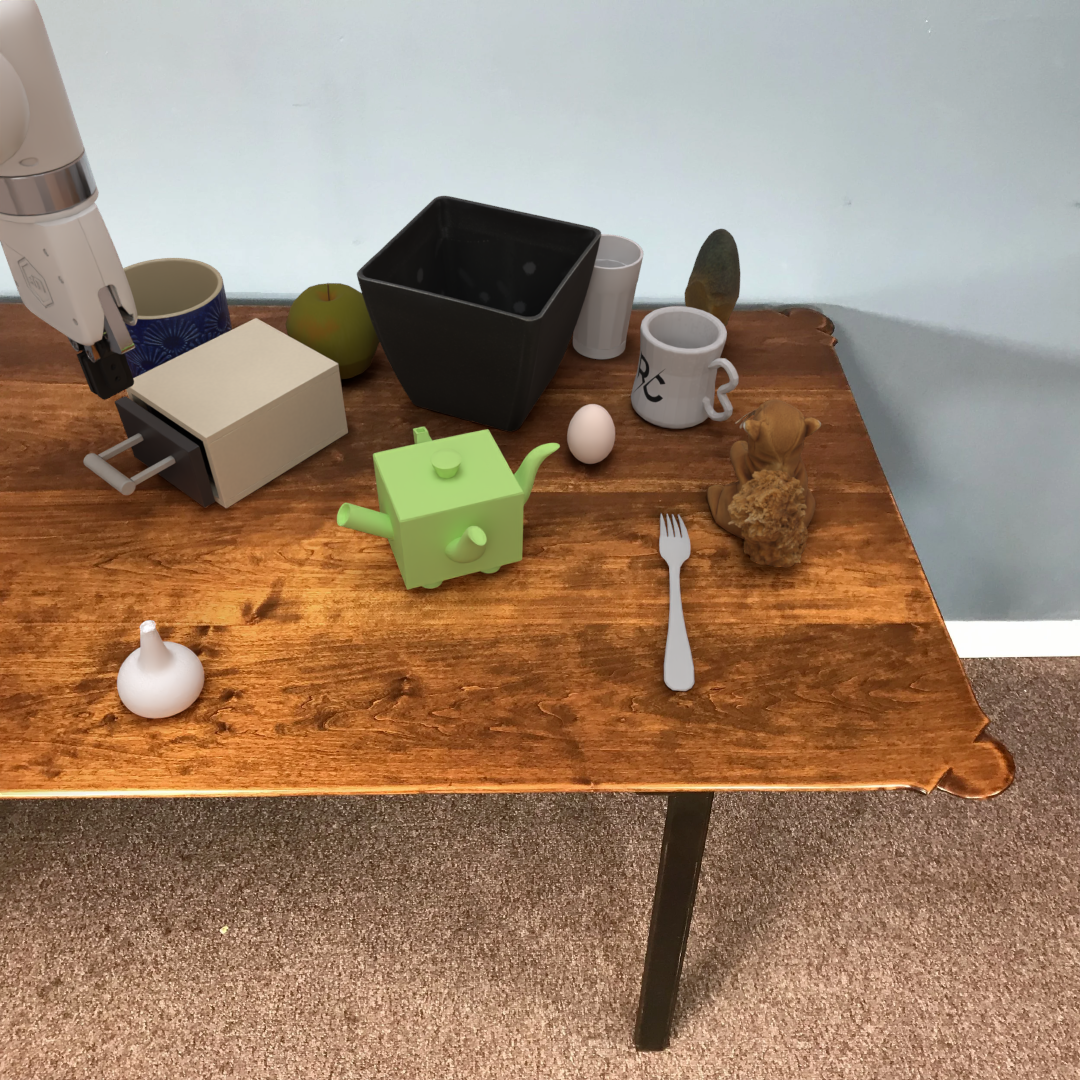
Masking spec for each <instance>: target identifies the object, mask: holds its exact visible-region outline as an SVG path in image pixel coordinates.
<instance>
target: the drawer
mask: <svg viewBox="0 0 1080 1080" xmlns="http://www.w3.org/2000/svg"><path fill="white" fill-rule="evenodd" d="M114 404H115V407H116V409H117V412H118V415H119V419H120V421H121V423H122V426H123V429H124V432H125V435H126V437H127V439H125V440H123V441H121V442H119V443H118V444H115V445H114V446H112V447H110V448H108V449H106V450H104V451H102V452H100V453H99V454H96V453H94V452H92V453H88V454H86V455H85V457H84V458H83V465H84V466H85V467H86V468H88V469H89V470H90V471H91V472H92V473H94V474H95V475H97V476H98V477H99V478H101V479H102V481H105V482H106V483H107V484H109V485H110V486H111V487H112V488H114V489H115V490H117V491H118V492H119V493H121V495H123V496H130V495H131V494H133V493H134V492H135V490H136V486H137V485H139V484H141V483H143V482H144V481H147V480H148V479H149V478H151V477H154V476H155V475H158V476H160V477H161V478H163V479H165V480H166V481H167V482H168V483H170V484H171V485H173V486H174V487H176V489H178V490H180V491H181V492H182V493H184V494H185V495H186V496H188V497H190V498H191V499H192V500H193V501H195V502H196V503H198V504H199V505H200V506H202V507H203V508H204V509H207V507H209V506H211V505H212V504H213V505H214V503H215V502H216V501H215V498H214V495H213V492H212V488H211V485H210V481H211V482H213V483H214V484H215V482H214V478H213V475H212V471H211V468H210V464H209V461H208V457H207V454H206V450H205V447H204V444H203V441H202V440H200V439H199V438H197V437H196V436H194V435H193V434H191V433H190V432H188V431H187V430H185V429H184V428H182V427H181V426H179V425H178V424H176V423H175V422H173V421H172V420H171V419H169V418H168V417H166V416H165V415H163V414H162V413H160V412H159V411H157V410H156V409H154V408H153V407H151V406H150V405H148V404H147V403H146V406H147V409H148V411H147V410H145V409H144V408H142V407H141V406H139V405H138V404H136V403H135V402H133V401H132V400H130V399H129V396H126V395H124V396H122V397H120V398H118V399H116V400H114ZM130 448H131V451H132V455H133V457H134V458H135V459H137V460H138V461H139V462H141V463H142V464H143V465H145V466H146V467H147V468H145V469H144V470H142V471H140V472H139V473H137V474H135V475H133V476H131V477H130V478H129V477H127V476H126V475H125V474H123V473H122V472H121V471H119V470H118V469H117V468H115V467H114V466H113V465H111V464H110V463H109V462H107V461H108V460H110V459H112V458H113V457H116V456H118V455H119V454H121V453H123V452H125V451H126V450H129V449H130ZM209 480H210V481H209Z"/></svg>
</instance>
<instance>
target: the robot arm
mask: <svg viewBox="0 0 1080 1080" xmlns="http://www.w3.org/2000/svg"><path fill="white" fill-rule="evenodd" d="M78 127H79V126H78V124H77V121H76V118H75V114H74V111H73V108H72V105H71V102H70V99H69V95H68V92H67V89H66V86H65V83H64V80H63V78H62V73H61V71H60V68H59V65H58V61H57V59H56V56H55V52H54V50H53V45H52V43H51V40H50V37H49V34H48V31H47V28H46V25H45V21H44V20H43V16H42V13H41V11H40V8H39V6H38V4H37V2H36V0H0V245H1V248H2V251H3V254H4V256H5V259H6V262H7V265H8V268H9V270H10V274H11V276H12V279H13V282H14V284H15V287H16V289H17V292H18V295H19V298H20V299H21V301H22V303H23V305H24V306H25V308H27V310H28V311H29V312H30V313H32V314H33V315H35V316H36V317H37V318H39V319H40V320H41V321H43V322H44V323H46V324H48V325H49V326H50V327H52V328H54V329H55V330H57V331H58V332H60V333H61V334H63V335H64V336H66V337H67V339H68V341H69V344H70V345H71V347H72V348H73V350H74V351H76V352H77V353H76V357H77V360H78V362H79V365H80V367H81V370H82V373H83V375H84V377H85V380H86V382H87V385H88V388H89V390H90V392H91V393H92V394H94V395H96V396H97V397H99V398H100V399H101V400H102V401H105V400H108V399H109V398H111V397H113V396H116V395H118V394H119V393H121V392H122V393H123V392H124V391H126V389H128V388H129V387H131V386H133V384H134V379H133V376H132V373H131V371H130V368H129V365H128V362H127V359H126V356H125V352H127V351H130V350H132V349H134V348H135V345H134V342H133V340H132V338H131V336H130V333H129V331H128V329H127V327H126V325H125V323H126V324H128V325H130V326H134V325H136V323H137V310H136V306H135V302H134V299H133V295H132V292H131V289H130V286H129V283H128V280H127V278H126V275H125V272H124V269H123V268H124V267H123V264H122V261H121V259H120V256H119V254H118V252H117V249H116V246H115V244H114V241H113V239H112V237H111V234H110V232H109V229H108V228H107V225H106V223H105V221H104V219H103V216H102V214H101V211H100V209H99V208H98V206H97V203H95V202H96V201H97V199H98V198H99V189H98V186H97V184H96V180H95V176H94V173H93V170H92V167H91V164H90V160H89V158H88V155H87V152H86V148H85V146H84V143H83V140H82V136H81V132H80V130H79V128H78Z"/></svg>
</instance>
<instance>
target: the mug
mask: <svg viewBox="0 0 1080 1080" xmlns="http://www.w3.org/2000/svg"><path fill="white" fill-rule="evenodd" d="M639 329H640V330H639V336H640V337H639V338H640V339H639V340H640V341H639V344H640V345H639V347H640V348H639V349H640V350H639V358H638V364H637V371H636V373H635V377H634V381H633V385H632V390H631V393H630V401H631V406H632V408H633V409H634V411H635V412H636V413H637V414H638V416H639V417H641V418H642V419H643V420H644V421H646V422H648V423H650V424H652V425H655V426H657V427H660V428H666V429H671V430H672V429H673V430H679V429H681V430H682V429H688V428H692V427H695V426H698V425H699V424H701V423H704V422H705V421H706V420H707V419H708V418H710V420H712V421H716V422H720V423H721V422H725V421H727V420H728V419H729V418H730V417H731V416H732V415H733V412H734V411H733V410H734V407H733V404H732V402H731V401H730V399H729V396H728V395H727V394H728V393H730V392H733V391H734V390H735V389H736V388H737V386H738V384H739V378H740V377H739V374H738V371H737V369H736V367H735V366H734V364H733V363H732V362H731V361H729V360H728V359H727V358H726V357H725V358H724V357H723V358H722V357H721V356H722V354H723V350H724V348H725V345H726V341H727V338H728V337H727V335H728V333H727V329H726V326H724V324H723V323H722V322H721V321H720V320H719V319H718V318H716V317H715V316H713V315H712V314H710V313H707V312H705V311H703V310H699V309H696V308H691V307H686V306H684V305H676V306H675V305H672V306H666V307H660V308H657V309H655V310H652V311H650V312H649V313H648V314H646V315H645V316H644V317H643V319H642V320H641V324H640V328H639ZM720 368H722V369H724V371H725V372H726V374H727V376H728V379H729V381H728V382H727V383H725V384H724V383H723V384H722V385H720V386H718V388H717V390H716V381H717V380H716V379H717V374H718V369H720ZM715 394H716V396H717V400H718V401H719V403H720V405H721V408H722V409H723V411H721V412H717V411H716V410H715V409H714V406H715Z"/></svg>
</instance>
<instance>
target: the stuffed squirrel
mask: <svg viewBox="0 0 1080 1080" xmlns="http://www.w3.org/2000/svg"><path fill="white" fill-rule="evenodd" d="M752 416H753V417H752ZM751 417H752V419H750V418H751ZM739 423H740V425H739V427H738V428H739V429H742V428H743V430H744V431H745V432H746V433H747V441H746V440H737V441H735V442H734V443H733V444H732V445H731V448H730V450H729V460H730V463H731V466H732V467H733V471H734V474H735V475H734V476H735V477H736V478H737V481H734V482H730V483H728V484H725V485H722V484H714V485H710V486H709V487H708V488H707V491H706V492H707V493H706V494H707V495H706V496H707V502H708V505H709V508H710V512H711V515H712V517H713V520H714V521H715V523H716V524H717V525H718V526H719V527H721V528H722V529H724V530H725V531H727V532H728V533H730V534H731V535H733V536H735V537H737V538H740V539H742V540H743V541H742V543H743V553H744V554H746V555H749V560H750V561H752V562H753V563H756V564H757V565H760V566H763V565H764V566H765V565H767V566H769V567H774V568H780V567H781V568H790V567H794V565H795V564H801V559H802V554H803V553H804V552H805V549H806V548H807V540H808V538H809V536H808V534H809V531H808V526H809V525H810V523H811V522H812V519H813V517H814V514H815V511H816V505H817V504H816V500H815V497H814V495H813V493H812V491H811V490H810V488H809V477H808V472H807V470H806V467H805V463H804V460H803V458H802V453H803V451H804V448H805V439H806V438H808V437H809V436H812V435H813V434H814V433H816V432H817V431H818V430H819V429H820V428H821V426H822V422H821V421H820V420H819V419H817V418H815V417H805V415H804V413H803V412H802V411H801V410H800V409H799V408H798V407H796V406H794V405H792V404H791V403H788V402H786V401H784V400H781V399H768V400H766V401H764V402H763V403H760V405H759V406H758V407H757V408H755V409H753V410H751V411H749V412H748V413H746V414H744V415H742V417H740V418H739V419H738V420H737V421H735V422H734V424H735V425H737V424H739Z"/></svg>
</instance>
